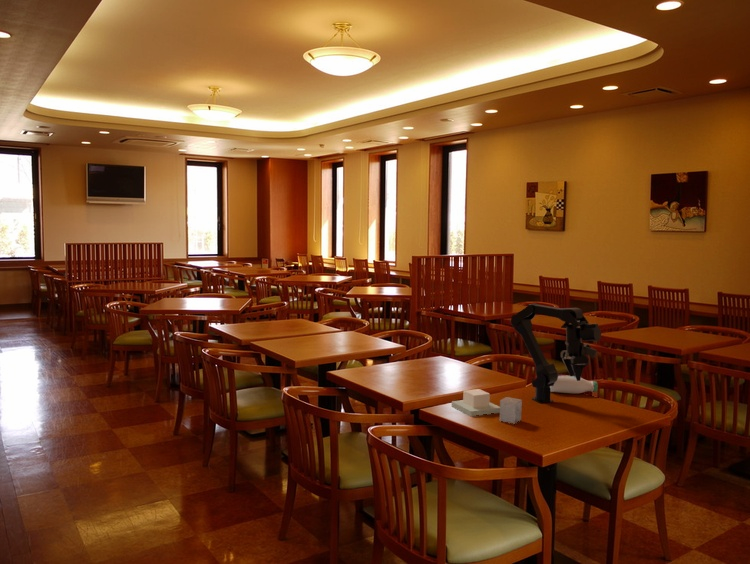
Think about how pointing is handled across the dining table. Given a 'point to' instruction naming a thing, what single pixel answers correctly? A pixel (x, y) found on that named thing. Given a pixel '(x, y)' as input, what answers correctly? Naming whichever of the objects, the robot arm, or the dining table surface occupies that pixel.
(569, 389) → the milk bottle
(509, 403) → the steel tin
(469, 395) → the cream lid
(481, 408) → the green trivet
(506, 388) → the dining table surface
